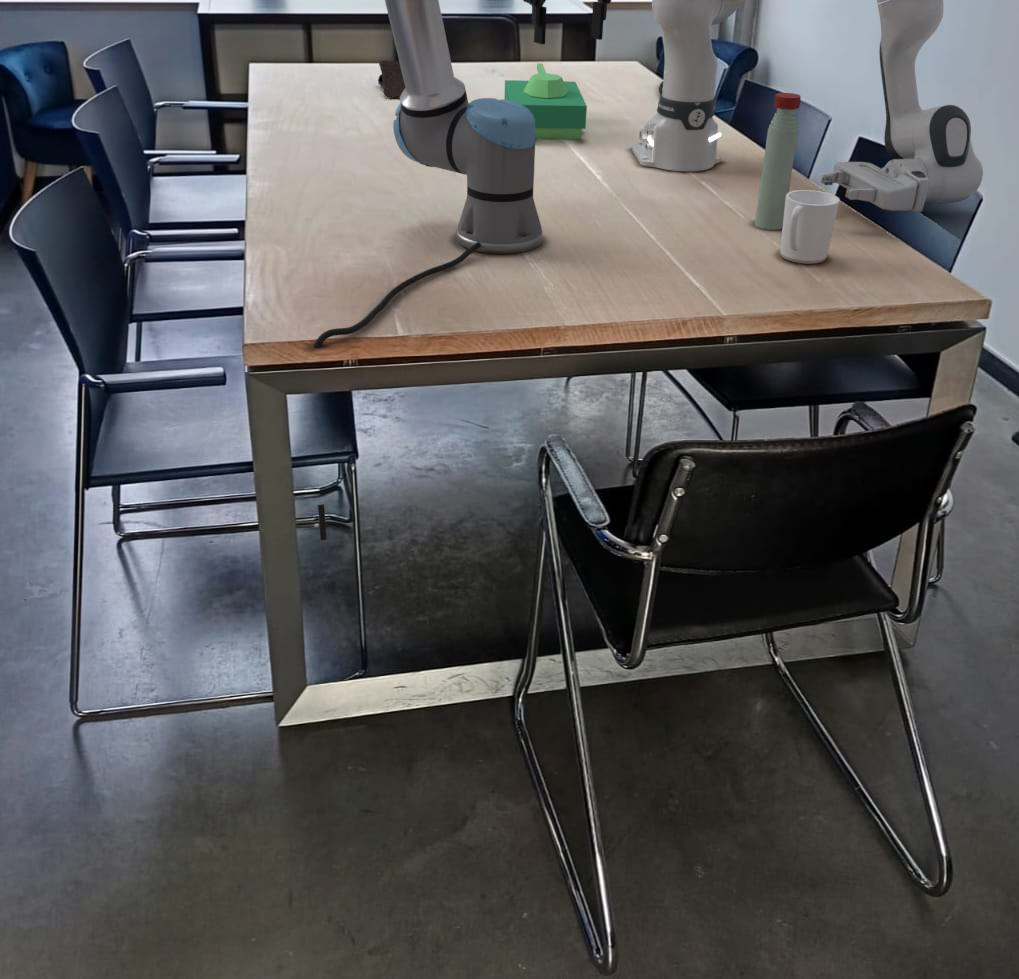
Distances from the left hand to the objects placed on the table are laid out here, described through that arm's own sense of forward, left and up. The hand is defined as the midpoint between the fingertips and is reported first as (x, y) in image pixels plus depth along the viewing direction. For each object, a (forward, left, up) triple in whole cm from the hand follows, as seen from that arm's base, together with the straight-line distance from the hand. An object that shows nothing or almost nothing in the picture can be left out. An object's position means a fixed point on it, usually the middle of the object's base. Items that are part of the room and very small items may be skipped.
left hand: (568, 41), depth 213 cm
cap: (-20, -41, -4) cm, 46 cm away
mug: (-38, -45, -28) cm, 65 cm away
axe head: (+80, +50, -28) cm, 99 cm away
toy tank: (+49, +9, -28) cm, 57 cm away
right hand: (-16, -53, -21) cm, 59 cm away
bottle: (-20, -41, -28) cm, 53 cm away
